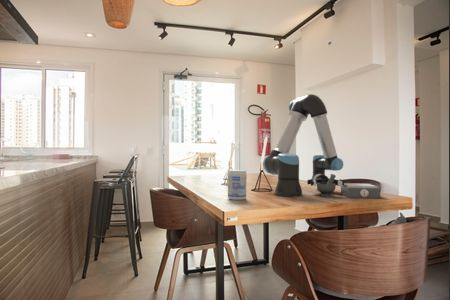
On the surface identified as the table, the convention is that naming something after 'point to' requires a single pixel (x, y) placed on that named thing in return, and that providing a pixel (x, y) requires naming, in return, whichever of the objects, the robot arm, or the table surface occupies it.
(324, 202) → the table surface
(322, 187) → the mortar and pestle
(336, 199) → the table surface
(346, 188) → the kitchen scale
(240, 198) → the supplement tub
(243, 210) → the table surface
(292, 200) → the table surface
